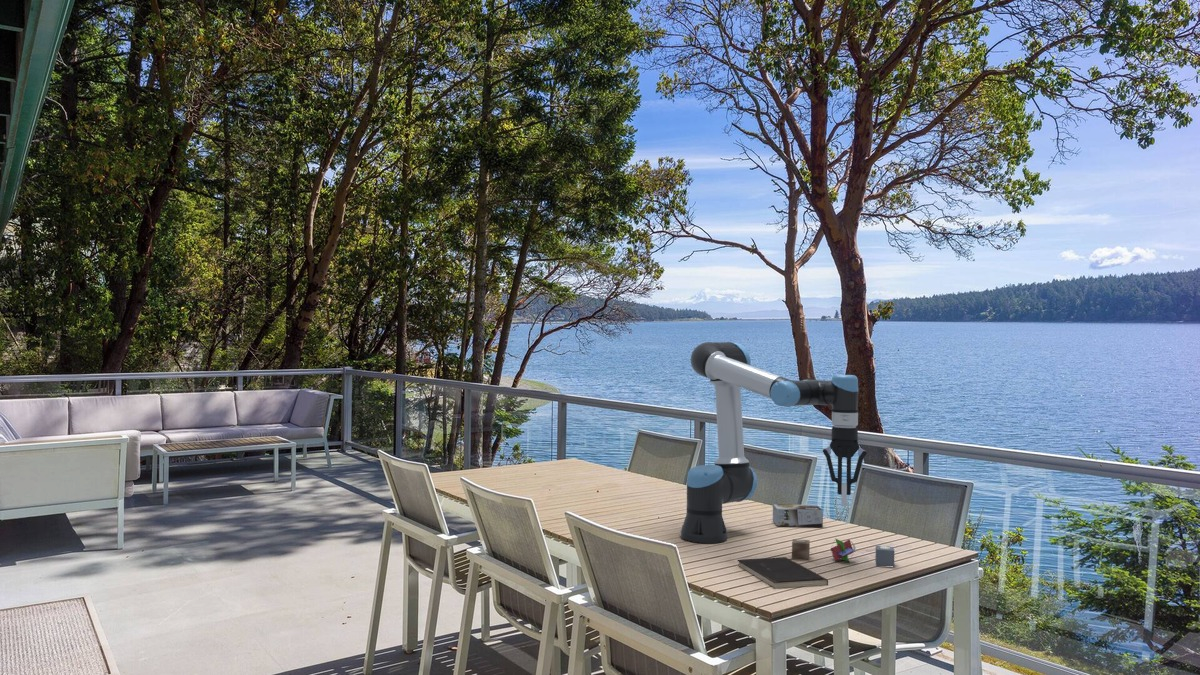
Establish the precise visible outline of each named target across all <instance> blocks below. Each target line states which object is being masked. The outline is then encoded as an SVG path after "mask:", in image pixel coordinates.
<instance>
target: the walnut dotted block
mask: <svg viewBox="0 0 1200 675" xmlns="http://www.w3.org/2000/svg"><path fill="white" fill-rule="evenodd" d="M810 544H811V540H810V539H798V538H792V542H791V560H799V561H810V554H811V552H810V551H811V550H810V546H811V545H810Z"/></svg>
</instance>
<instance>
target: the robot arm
mask: <svg viewBox="0 0 1200 675" xmlns="http://www.w3.org/2000/svg"><path fill="white" fill-rule="evenodd" d="M690 365H691V367H692V370H693V371H694V372H695V373H696V374H698V375H699V376H701V377H704V378H707V379H709V380H710V383H711V385H713V386H714V389H715V409H716V410H715V411H716V412H715V413H716V428H717V447H718V458H717V459H716V460H715V461H714V464H701V465H696V466H693V467H691V468H689V470H688V471H687V479H686V515H685V518H684V521H683V524H682V527H681V529H680V538H681V539H682V538H683V539H682V540H684V539H685V540H684V541H687V540H688V541H687V542H690V541H692V543H697V542H699V543H698V544H720V543H724V542H726V541H727V539H728V530H727V527H726V524H725V521H724V518H723V504H729V503H735V502H736V503H740V502H742V501H743V502H744V501H746V500H749V499H750V498H751V497H752V496H753V495H754V494H755V493H756V491H757V487H758V476H757V474H756V472H754V469H753V468H752V467H751V466H750V461H749V460H748V458H746V457H745V450H744V449H745V445H744V429H743V427H744V426H743V425H744V424H743V411H742V409H743V408H742V390H741V388H742V389H743V390H747V391H749V392H752V393H755V394H757V395H760V396H763V397H765V398H767V399H770V400H771V401H772V402H773V403H774V404H775V405H776V406H777V407H778V406H779V407H786V408H790V407H798V406H799V407H800V406H815V405H816V406H817V405H820V406H831V425H832V427H831V441H830V443H829V446H827V447H825V448H823V449H822V453H823V455H824V456H825V459H826V463H827V467H828V470H829V476H830V478H831V481H832V482H834V483H836V484H837V495H841V496H840V498H841V502H840V505H841V507H845V508H846V507H847V506H848V505H847V504H848V502H847V501H848V496H850V495H851V494H852V491H851V490H852V484H855V483H858V481H859V480H858V479H859V476H860V472H861V468H862V464H863V461H864V458H865V457H866V456H867V454H868V452H867V450H865V449H863V448H861V447H860V444H859V442H858V441H859V439H858V438H859V437H858V436H859V429H858V425H859V406H858V405H859V390H860V388H859V379H858V377H857V376H856V375H853V374H834V375H833V376H832V378H831V380H823V379H822V380H820V379H803V380H792V379H789V378H786V377H783V376H781V375H778V374H775V373H773V372H769V371H767V370H764V369H761V368H758V367H756V366H752V365H751V356H750V354H749V351H748V350H747V348H745V346H744V345H742V344H740V343H737V342H732V341H727V342H725V341H724V342H721V341H720V342H719V341H718V342H717V341H716V342H715V341H714V342H713V341H706V342H701V343H699V344H698V345H697V346H696V347H694V349H693V350H692V352H691V355H690ZM831 450H832V451H831ZM857 451H858V452H857ZM832 452H833V454H835V456H836V457H837V477H836V474H835V470H834V465H833V462H832V458H831V453H832ZM855 454H857V455H858V458H857V462H856V466H855V469H854V473H853V477H852V458H853V457H854V456H855ZM843 458H844V459H845V458H846V482H843Z"/></svg>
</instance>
